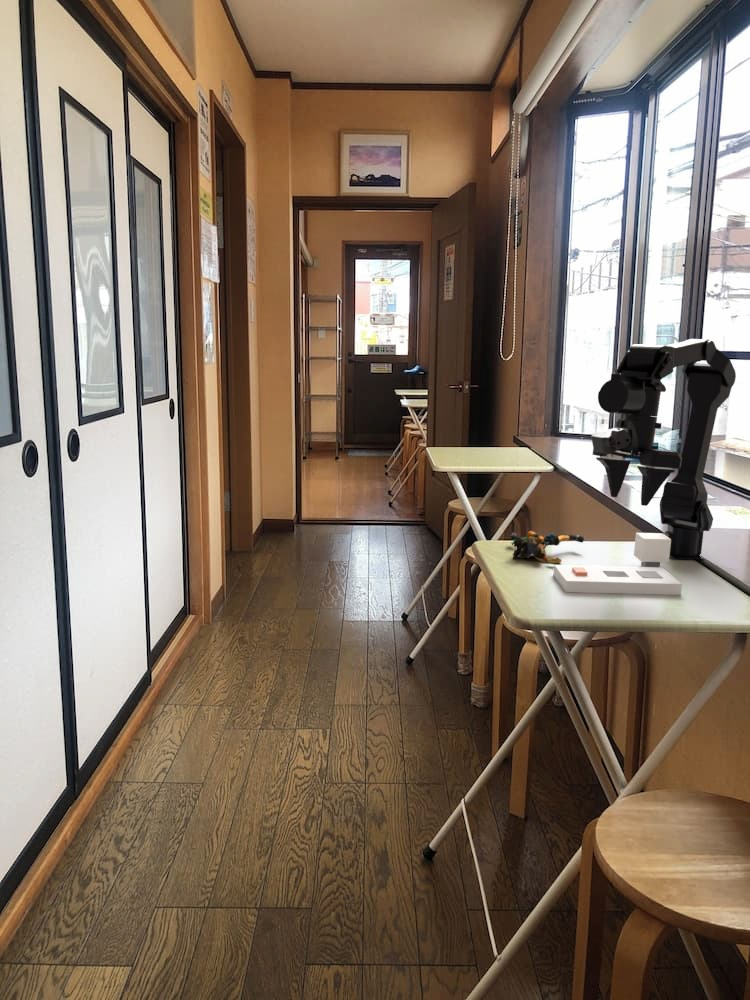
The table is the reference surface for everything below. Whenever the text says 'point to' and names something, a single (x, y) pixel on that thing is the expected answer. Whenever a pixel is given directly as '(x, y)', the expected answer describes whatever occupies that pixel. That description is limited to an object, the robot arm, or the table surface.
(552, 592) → the table surface
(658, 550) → the block
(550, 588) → the table surface
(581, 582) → the power strip
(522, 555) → the action figure
